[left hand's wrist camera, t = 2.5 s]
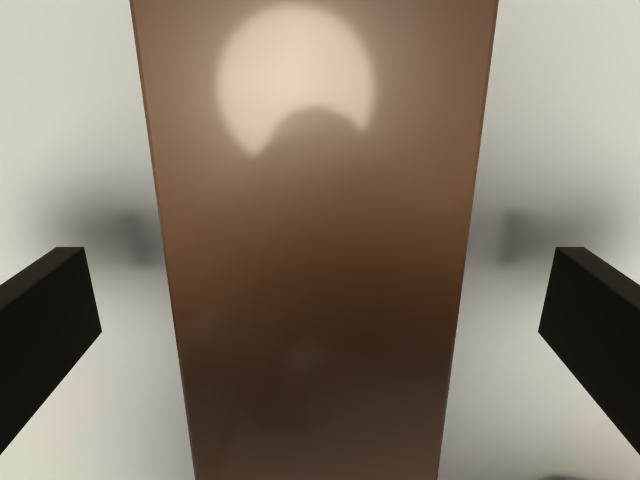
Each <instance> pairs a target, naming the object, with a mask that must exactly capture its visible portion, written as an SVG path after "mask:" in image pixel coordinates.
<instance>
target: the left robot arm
mask: <svg viewBox="0 0 640 480" xmlns="http://www.w3.org/2000/svg"><path fill="white" fill-rule="evenodd" d="M101 332H102V330H101V325H100V320H99V316H98V311H97V306H96V301H95V297H94V292H93V287H92V283H91V278H90V273H89V269H88V264H87V259H86V255H85V250H84V247H56V248H54V249H53V250H51V251H50V252H48V253H47V254H45V255H44V256H43V257H41V258H40V259H38V260H37V261H35V262H34V263H32V264H31V265H29V266H28V267H26V268H25V269H23V270H22V271H20V272H19V273H18V274H16V275H15V276H13V277H12V278H10V279H9V280H7V281H6V282H4V283H3V284H1V285H0V455H1V453H2V452H3V451H4V450H5V449H6V447H7V446H8V445H9V444H10V443H11V441H12V440H13V439H14V438H15V437H16V435H17V434H18V433H19V432H20V430H21V429H22V428H23V427H24V426H25V424H26V423H27V422H28V421H29V420H30V418H31V417H32V416H33V415H34V414H35V412H36V411H37V410H38V409H39V407H40V406H41V405H42V404H43V403H44V401H45V400H46V399H47V398H48V397H49V395H50V394H51V393H52V392H53V391H54V389H55V388H56V387H57V386H58V384H59V383H60V382H61V381H62V380H63V378H64V377H65V376H66V375H67V374H68V372H69V371H70V370H71V369H72V368H73V366H74V365H75V364H76V363H77V361H78V360H79V359H80V358H81V357H82V355H83V354H84V353H85V352H86V351H87V349H88V348H89V347H90V346H91V345H92V343H93V342H94V341H95V340H96V338H97V337H98V336H99V335H100V334H101ZM538 332H539V334H540V335H541V336H542V337H543V338H544V340H545V341H546V342H547V343H548V345H549V346H550V347H551V348H552V349H553V351H554V352H555V353H556V354H557V355H558V357H559V358H560V359H561V360H562V361H563V363H564V364H565V365H566V366H567V368H568V369H569V370H570V371H571V372H572V374H573V375H574V376H575V377H576V378H577V380H578V381H579V382H580V383H581V384H582V386H583V387H584V388H585V389H586V391H587V392H588V393H589V394H590V395H591V397H592V398H593V399H594V400H595V401H596V403H597V404H598V405H599V406H600V407H601V409H602V410H603V411H604V412H605V414H606V415H607V416H608V417H609V418H610V420H611V421H612V422H613V423H614V424H615V426H616V427H617V428H618V429H619V430H620V432H621V433H622V434H623V435H624V437H625V438H626V439H627V440H628V441H629V443H630V444H631V445H632V446H633V447H634V449H635V450H636V451H637V452H638V453H639V455H640V285H639V284H637V283H636V282H634V281H633V280H631V279H630V278H628V277H627V276H625V275H624V274H622V273H621V272H620V271H618V270H617V269H615V268H614V267H612V266H611V265H609V264H608V263H606V262H605V261H603V260H602V259H600V258H599V257H597V256H596V255H595V254H593V253H592V252H590V251H589V250H587V249H586V248H584V247H556V250H555V255H554V259H553V264H552V269H551V273H550V278H549V283H548V287H547V292H546V297H545V301H544V306H543V311H542V316H541V320H540V325H539V330H538Z"/></svg>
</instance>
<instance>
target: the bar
mask: <svg viewBox="0 0 640 480" xmlns="http://www.w3.org/2000/svg"><path fill="white" fill-rule="evenodd" d="M129 1H130V8H131V15H132V23H133V30H134V37H135V44H136V52H137V59H138V66H139V74H140V81H141V88H142V95H143V103H144V110H145V117H146V125H147V132H148V139H149V146H150V154H151V161H152V168H153V176H154V183H155V190H156V197H157V205H158V212H159V219H160V227H161V234H162V241H163V248H164V256H165V263H166V270H167V278H168V285H169V292H170V299H171V307H172V314H173V321H174V329H175V336H176V343H177V350H178V358H179V365H180V372H181V380H182V387H183V394H184V401H185V409H186V416H187V423H188V431H189V438H190V445H191V452H192V460H193V467H194V474H195V480H437V476H438V469H439V461H440V453H441V445H442V438H443V430H444V422H445V414H446V407H447V399H448V391H449V383H450V375H451V368H452V360H453V352H454V344H455V337H456V329H457V321H458V313H459V306H460V298H461V290H462V282H463V274H464V267H465V259H466V251H467V243H468V236H469V228H470V220H471V212H472V205H473V197H474V189H475V181H476V173H477V166H478V158H479V150H480V142H481V135H482V127H483V119H484V111H485V103H486V96H487V88H488V80H489V72H490V65H491V57H492V49H493V41H494V34H495V26H496V18H497V10H498V2H499V0H129Z"/></svg>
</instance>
